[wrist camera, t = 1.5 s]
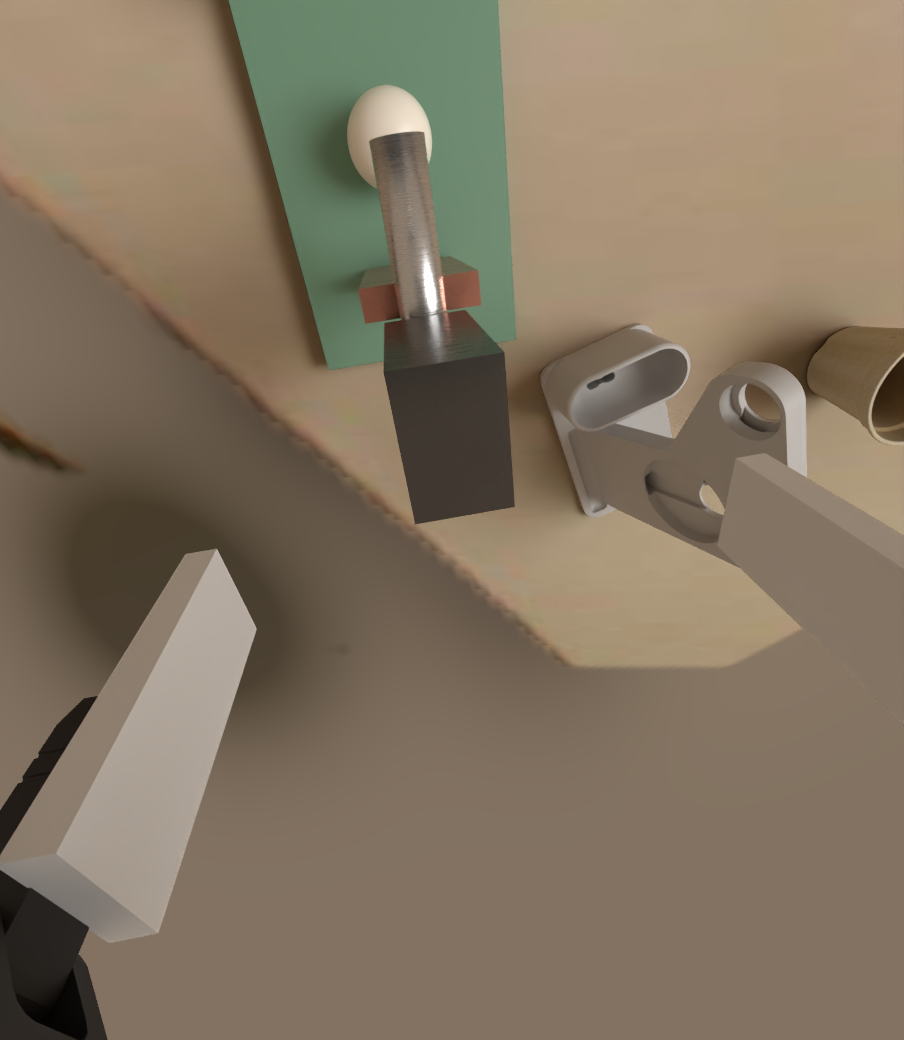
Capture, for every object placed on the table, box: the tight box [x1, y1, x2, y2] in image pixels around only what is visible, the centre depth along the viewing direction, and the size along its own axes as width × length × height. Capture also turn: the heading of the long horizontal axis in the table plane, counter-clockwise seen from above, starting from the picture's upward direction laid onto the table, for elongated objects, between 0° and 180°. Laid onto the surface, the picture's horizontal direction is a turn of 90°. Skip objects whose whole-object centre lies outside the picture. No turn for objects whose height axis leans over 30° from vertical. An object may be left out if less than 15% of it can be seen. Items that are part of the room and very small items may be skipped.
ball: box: [347, 85, 432, 189], centre depth 28 cm, size 5×5×5 cm
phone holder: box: [540, 324, 807, 568], centre depth 37 cm, size 17×10×18 cm, turn 24°
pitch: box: [229, 0, 516, 370], centre depth 28 cm, size 31×15×6 cm, turn 8°
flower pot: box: [807, 326, 904, 446], centre depth 40 cm, size 9×9×9 cm
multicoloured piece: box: [358, 131, 515, 524], centre depth 24 cm, size 13×6×22 cm, turn 8°
